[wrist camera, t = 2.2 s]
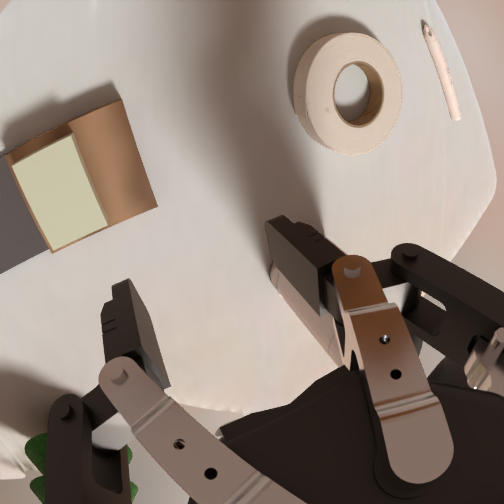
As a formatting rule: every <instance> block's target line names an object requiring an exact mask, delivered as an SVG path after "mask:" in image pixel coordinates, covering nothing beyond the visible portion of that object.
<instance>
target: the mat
mask: <svg viewBox="0 0 504 504" xmlns="http://www.w3.org/2000/svg"><path fill="white" fill-rule="evenodd" d="M17 148H18V147H17ZM12 151H13V150H12ZM10 152H11V151H10ZM7 154H8V153H7ZM7 154H5V155H4V156H2V157H0V274H1V273H3V272H5V271H7V270H9V269H11V268H13V267H14V266H16V265H18V264H20V263H22V262H24V261H26V260H28V259H30V258H32V257H34V256H36V255H38V254H40V253H42V252H44V251H46V250H48V249H49V247H48V246H47V244H46V242H45V240H44V238H43V237H42V235H41V233H40V231H39V229H38V227H37V225H36V223H35V221H34V219H33V218H32V216H31V214H30V212H29V210H28V208H27V206H26V203H25V201H24V199H23V197H22V195H21V193H20V191H19V189H18V186H17V184H16V182H15V180H14V178H13V175H12V173H11V171H10V168H9V166H8V163H7V161H6V159H5V156H6V155H7Z"/></svg>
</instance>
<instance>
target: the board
mask: <svg viewBox="0 0 504 504" xmlns="http://www.w3.org/2000/svg"><path fill="white" fill-rule="evenodd" d="M72 132H73V133H74V136H75V138H76V141H77V144H78V147H79V149H80V152H81V155H82V157H83V160H84V162H85V165H86V167H87V170H88V173H89V175H90V177H91V180H92V182H93V185H94V187H95V190H96V192H97V194H98V197H99V199H100V201H101V204H102V206H103V208H104V210H105V213H106V215H107V217H108V226H106V227H103V228H101V229H99V230H97V231H94V232H92V233H90V234H88V235H86V236H84V237H81V238H79V239H77V240H75V241H73V242H71V243H69V244H66V245H64V246H62V247H60V248H58V249H56V250H54V251H53V249H52V247H51V245H50V244H49V242H48V240H47V238H46V236H45V234H44V232H43V231H42V229H41V227H40V225H39V223H38V221H37V219H36V217H35V215H34V213H33V211H32V209H31V207H30V205H29V203H28V201H27V199H26V197H25V195H24V192H23V190H22V188H21V186H20V184H19V181H18V179H17V177H16V175H15V172H14V170H13V168H12V166H13V164H14V163H15V162H16V161H18V160H20V159H21V158H23V157H25V156H27V155H29V154H31V153H32V152H34V151H36V150H38V149H40V148H42V147H44V146H46V145H48V144H50V143H52V142H54V141H56V140H58V139H60V138H62V137H64V136H66V135H68V134H70V133H72ZM5 159H6V161H7V163H8V166H9V168H10V171H11V173H12V175H13V178H14V180H15V182H16V184H17V186H18V189H19V191H20V193H21V195H22V197H23V199H24V201H25V203H26V206H27V208H28V210H29V212H30V214H31V216H32V218H33V219H34V221H35V223H36V225H37V227H38V229H39V231H40V233H41V235H42V237H43V238H44V240H45V242H46V244H47V246H48V247H49V249H50V251H51V253H55V252H57V251H59V250H61V249H63V248H65V247H67V246H69V245H71V244H73V243H75V242H78V241H80V240H82V239H84V238H86V237H88V236H91V235H93V234H95V233H97V232H99V231H102V230H104V229H106V228H108V227H111V226H113V225H115V224H118V223H120V222H122V221H125V220H127V219H129V218H132V217H134V216H136V215H139V214H141V213H143V212H146V211H148V210H151V209H153V208H156V207H158V205H157V202H156V200H155V197H154V194H153V191H152V189H151V186H150V183H149V180H148V177H147V175H146V172H145V169H144V166H143V163H142V160H141V157H140V154H139V151H138V148H137V145H136V142H135V139H134V136H133V133H132V130H131V127H130V124H129V121H128V117H127V114H126V111H125V108H124V104H123V101H122V99H120V100H117V101H115V102H112V103H110V104H107V105H105V106H102V107H100V108H97V109H95V110H93V111H90V112H88V113H86V114H83V115H81V116H79V117H77V118H74V119H72V120H70V121H68V122H66V123H64V124H61V125H59V126H57V127H55V128H53V129H51V130H49V131H47V132H45V133H43V134H41V135H39V136H38V137H36V138H34V139H32V140H30V141H28V142H26V143H25V144H23V145H21V146H19V147H18V148H16V149H14V150H13V151H11V152H9V153H8V154H7V155H6V156H5Z"/></svg>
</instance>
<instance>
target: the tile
mask: <svg viewBox="0 0 504 504" xmlns="http://www.w3.org/2000/svg"><path fill="white" fill-rule="evenodd" d="M12 168H13V170H14V172H15V175H16V177H17V179H18V181H19V184H20V186H21V188H22V190H23V192H24V195H25V197H26V199H27V201H28V203H29V205H30V207H31V209H32V211H33V213H34V215H35V217H36V219H37V221H38V223H39V225H40V227H41V229H42V231H43V232H44V234H45V236H46V238H47V240H48V242H49V244H50V245H51V247H52V249H53V251H54V250H56V249H58V248H60V247H62V246H64V245H66V244H69V243H71V242H73V241H75V240H77V239H79V238H81V237H84V236H86V235H88V234H90V233H92V232H94V231H97V230H99V229H101V228H103V227H106V226H108V217H107V215H106V213H105V210H104V208H103V206H102V204H101V201H100V199H99V197H98V194H97V192H96V190H95V187H94V185H93V182H92V180H91V177H90V175H89V173H88V170H87V167H86V165H85V162H84V160H83V157H82V155H81V152H80V149H79V147H78V144H77V141H76V138H75V136H74V133H73V132H72V133H70V134H68V135H66V136H64V137H62V138H60V139H58V140H56V141H54V142H52V143H50V144H48V145H46V146H44V147H42V148H40V149H38V150H36V151H34V152H32V153H31V154H29V155H27V156H25V157H23V158H21V159H20V160H18V161H16V162H15V163H14V164H13V166H12Z"/></svg>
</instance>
